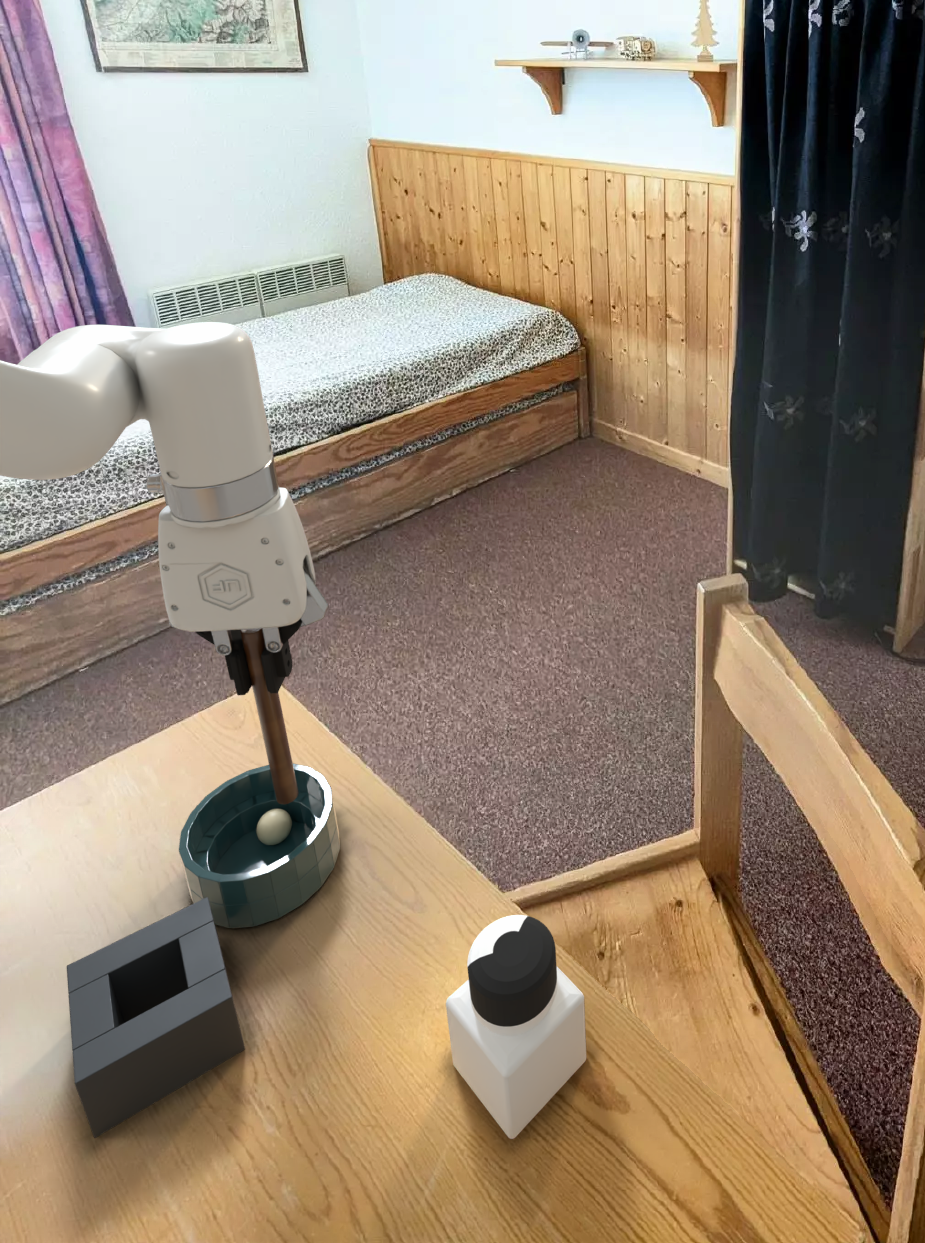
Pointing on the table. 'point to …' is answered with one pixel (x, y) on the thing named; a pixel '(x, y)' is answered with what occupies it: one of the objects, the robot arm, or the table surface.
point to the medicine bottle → (516, 1021)
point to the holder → (150, 1015)
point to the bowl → (259, 848)
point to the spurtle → (270, 720)
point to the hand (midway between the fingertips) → (263, 681)
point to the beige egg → (274, 826)
